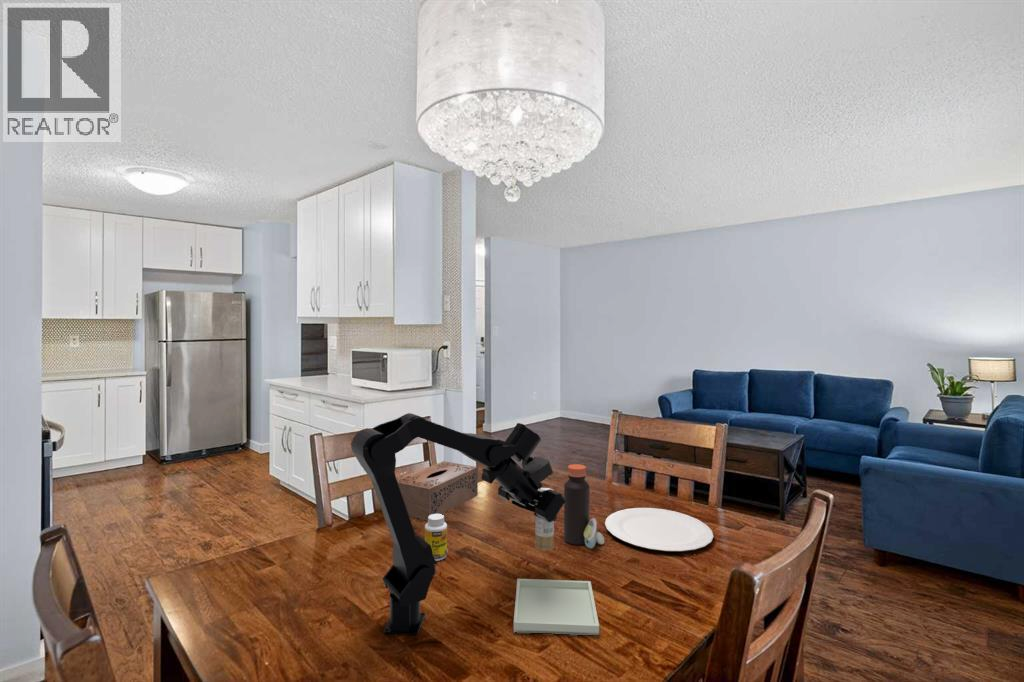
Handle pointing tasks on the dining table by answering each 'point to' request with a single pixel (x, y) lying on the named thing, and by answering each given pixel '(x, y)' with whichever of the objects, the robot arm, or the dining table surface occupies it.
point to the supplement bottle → (437, 535)
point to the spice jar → (544, 532)
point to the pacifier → (592, 534)
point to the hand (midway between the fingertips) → (549, 516)
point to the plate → (659, 529)
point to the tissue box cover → (438, 488)
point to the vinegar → (576, 505)
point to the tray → (555, 607)
